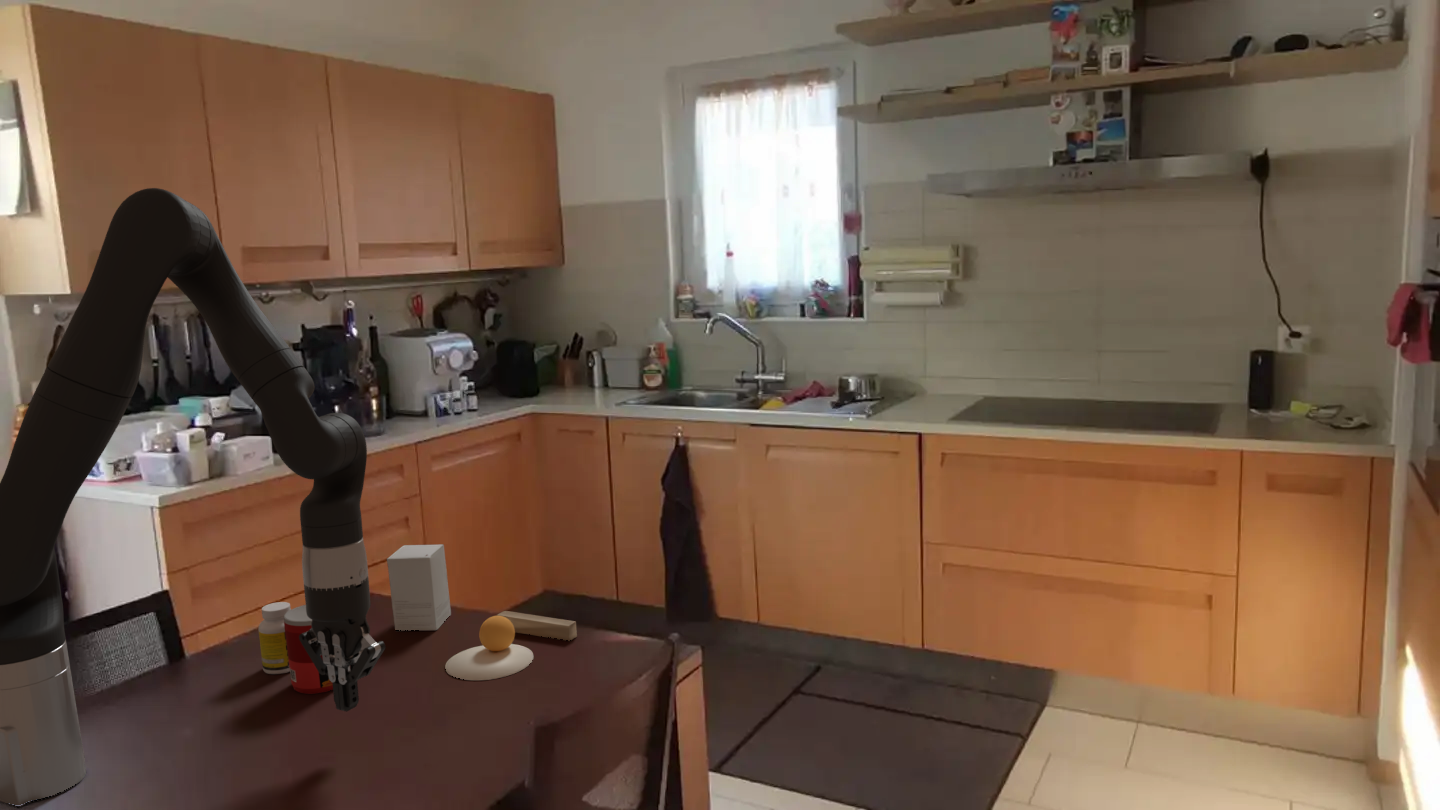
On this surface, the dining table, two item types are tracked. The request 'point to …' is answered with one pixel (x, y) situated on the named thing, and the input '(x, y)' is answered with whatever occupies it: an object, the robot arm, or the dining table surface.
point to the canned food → (302, 655)
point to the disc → (488, 662)
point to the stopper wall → (541, 625)
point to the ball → (497, 633)
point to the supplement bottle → (274, 638)
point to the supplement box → (419, 587)
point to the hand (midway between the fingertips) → (347, 708)
